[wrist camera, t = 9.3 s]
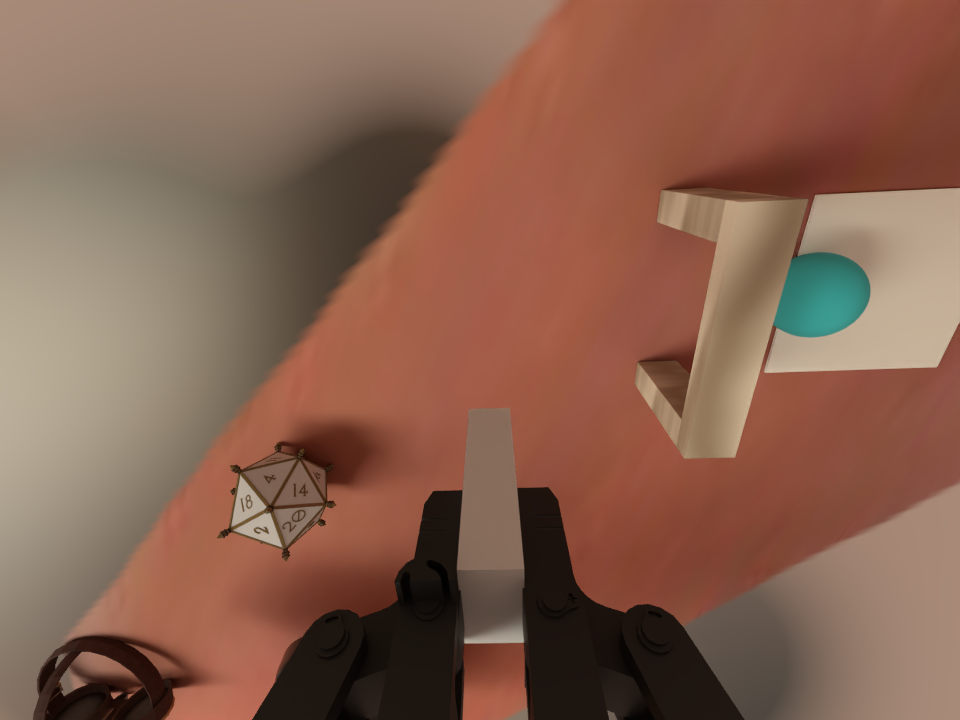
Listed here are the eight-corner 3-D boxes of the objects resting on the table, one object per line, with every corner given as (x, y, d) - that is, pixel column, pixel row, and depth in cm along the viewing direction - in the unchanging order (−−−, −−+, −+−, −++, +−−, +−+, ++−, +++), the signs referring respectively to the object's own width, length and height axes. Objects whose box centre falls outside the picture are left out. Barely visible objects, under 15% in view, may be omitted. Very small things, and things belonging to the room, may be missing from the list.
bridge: (708, 187, 26) (808, 198, 18) (672, 382, 33) (735, 457, 24) (661, 189, 27) (739, 202, 18) (634, 384, 33) (684, 458, 25)
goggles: (89, 699, 56) (1, 791, 46) (54, 620, 53) (-47, 700, 43) (193, 692, 54) (126, 785, 45) (163, 611, 52) (84, 691, 42)
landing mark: (934, 365, 32) (937, 367, 32) (763, 371, 32) (765, 372, 32) (1024, 184, 26) (1027, 184, 26) (815, 194, 26) (817, 195, 26)
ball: (738, 334, 29) (781, 315, 31) (830, 358, 24) (873, 334, 27) (751, 256, 27) (797, 242, 29) (856, 266, 22) (900, 249, 24)
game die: (314, 423, 40) (297, 425, 30) (358, 499, 40) (355, 525, 30) (221, 475, 37) (170, 495, 27) (268, 556, 37) (234, 604, 28)
